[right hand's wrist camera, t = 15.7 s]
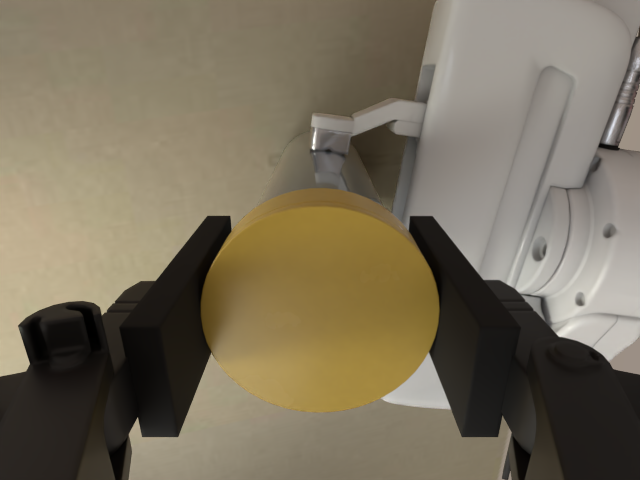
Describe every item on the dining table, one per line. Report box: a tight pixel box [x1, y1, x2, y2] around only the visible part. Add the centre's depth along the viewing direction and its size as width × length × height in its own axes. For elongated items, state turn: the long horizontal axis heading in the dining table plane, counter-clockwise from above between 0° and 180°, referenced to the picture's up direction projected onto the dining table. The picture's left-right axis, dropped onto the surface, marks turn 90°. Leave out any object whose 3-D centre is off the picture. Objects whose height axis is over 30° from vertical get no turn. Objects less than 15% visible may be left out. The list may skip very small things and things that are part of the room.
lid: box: [200, 188, 440, 412], centre depth 11 cm, size 6×6×2 cm
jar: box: [257, 131, 384, 207], centre depth 19 cm, size 5×5×16 cm
